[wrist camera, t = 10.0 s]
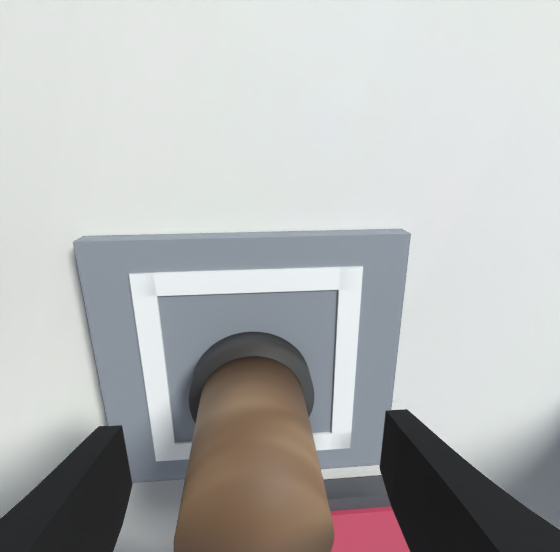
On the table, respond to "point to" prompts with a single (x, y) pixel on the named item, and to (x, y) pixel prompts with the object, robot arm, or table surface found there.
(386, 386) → the board
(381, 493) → the ink pad
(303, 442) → the stamp
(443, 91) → the table surface
